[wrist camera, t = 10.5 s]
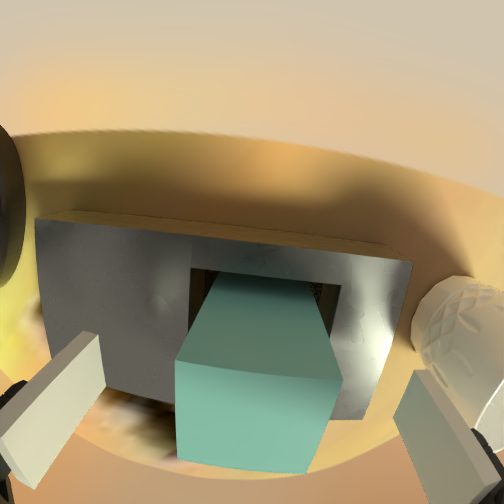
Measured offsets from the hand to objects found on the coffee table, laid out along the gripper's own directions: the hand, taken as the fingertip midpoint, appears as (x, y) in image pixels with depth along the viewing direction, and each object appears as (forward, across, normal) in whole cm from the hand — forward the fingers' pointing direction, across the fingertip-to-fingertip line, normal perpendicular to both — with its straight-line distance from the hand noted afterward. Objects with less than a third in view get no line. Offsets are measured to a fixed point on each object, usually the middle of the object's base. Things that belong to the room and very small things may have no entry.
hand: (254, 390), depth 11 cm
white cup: (+8, +14, 0) cm, 16 cm away
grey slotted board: (+8, -3, 0) cm, 8 cm away
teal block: (+8, 0, 0) cm, 8 cm away
